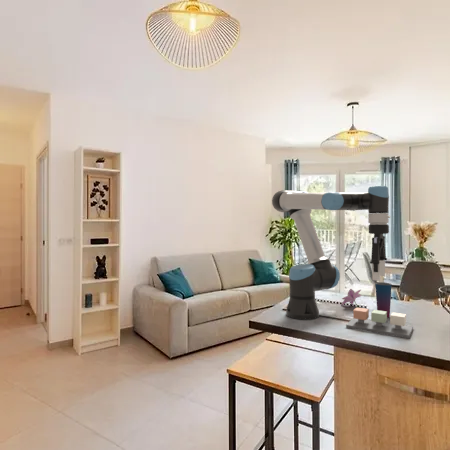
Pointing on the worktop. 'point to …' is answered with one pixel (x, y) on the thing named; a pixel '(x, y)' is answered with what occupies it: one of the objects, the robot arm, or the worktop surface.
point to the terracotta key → (361, 313)
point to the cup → (383, 296)
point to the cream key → (398, 319)
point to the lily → (351, 297)
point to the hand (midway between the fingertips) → (378, 277)
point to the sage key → (379, 316)
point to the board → (380, 327)
